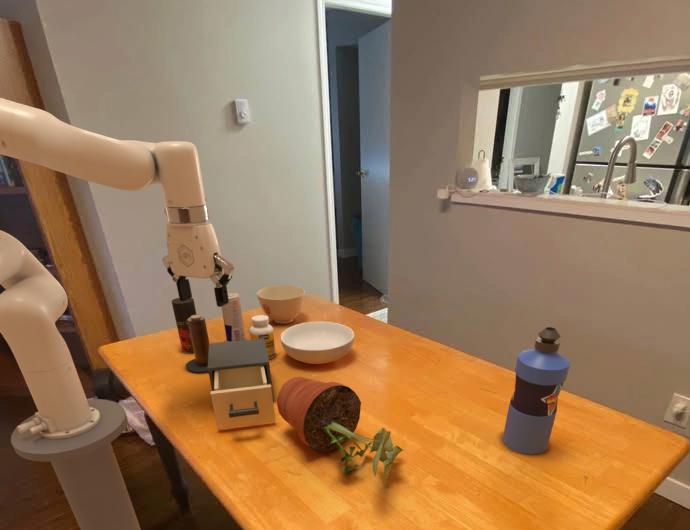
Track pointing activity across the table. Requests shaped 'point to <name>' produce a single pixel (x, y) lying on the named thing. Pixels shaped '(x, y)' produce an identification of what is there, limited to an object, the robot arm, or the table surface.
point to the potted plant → (331, 420)
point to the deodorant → (184, 322)
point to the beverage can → (233, 318)
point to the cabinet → (238, 357)
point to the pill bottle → (263, 333)
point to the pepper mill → (199, 339)
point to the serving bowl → (317, 341)
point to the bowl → (281, 302)
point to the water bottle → (536, 395)
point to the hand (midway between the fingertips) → (204, 302)
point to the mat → (196, 367)
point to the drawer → (242, 397)
